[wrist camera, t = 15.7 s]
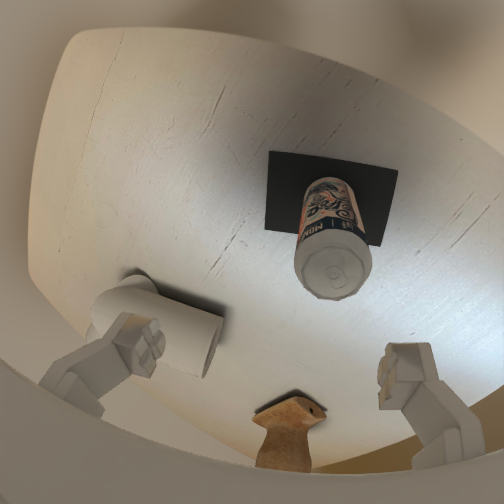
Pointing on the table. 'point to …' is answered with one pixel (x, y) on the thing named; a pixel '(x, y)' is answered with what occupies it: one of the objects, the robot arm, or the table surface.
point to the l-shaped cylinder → (161, 323)
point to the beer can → (331, 242)
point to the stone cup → (287, 434)
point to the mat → (314, 168)
